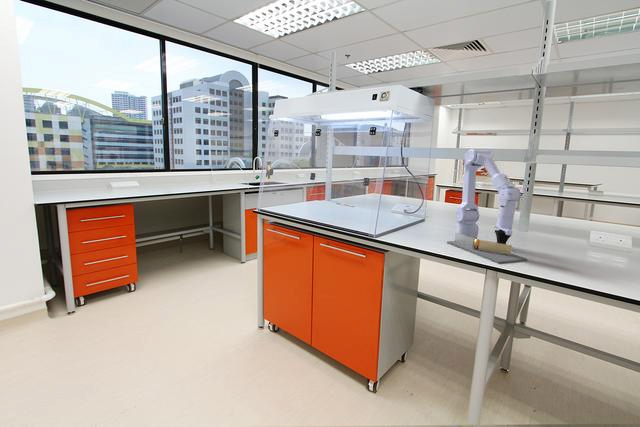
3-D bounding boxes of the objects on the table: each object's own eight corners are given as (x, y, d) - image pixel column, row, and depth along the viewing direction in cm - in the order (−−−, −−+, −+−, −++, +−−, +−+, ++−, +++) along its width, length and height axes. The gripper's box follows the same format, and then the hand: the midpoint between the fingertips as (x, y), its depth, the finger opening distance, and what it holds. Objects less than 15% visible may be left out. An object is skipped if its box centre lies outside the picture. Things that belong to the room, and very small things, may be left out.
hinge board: (473, 241, 154) (473, 239, 154) (527, 260, 129) (527, 258, 128) (446, 243, 149) (447, 241, 149) (498, 263, 123) (498, 261, 123)
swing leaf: (473, 247, 139) (475, 238, 138) (510, 254, 132) (511, 244, 132) (473, 248, 138) (474, 239, 137) (510, 255, 131) (511, 245, 130)
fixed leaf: (456, 241, 149) (457, 232, 148) (474, 248, 139) (475, 238, 139) (454, 241, 149) (455, 232, 148) (472, 248, 139) (474, 238, 138)
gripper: (490, 212, 140) (485, 242, 143) (500, 218, 126) (495, 251, 129) (508, 214, 139) (502, 243, 141) (520, 220, 125) (514, 253, 127)
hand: (500, 247), depth 135 cm, fingers closed
